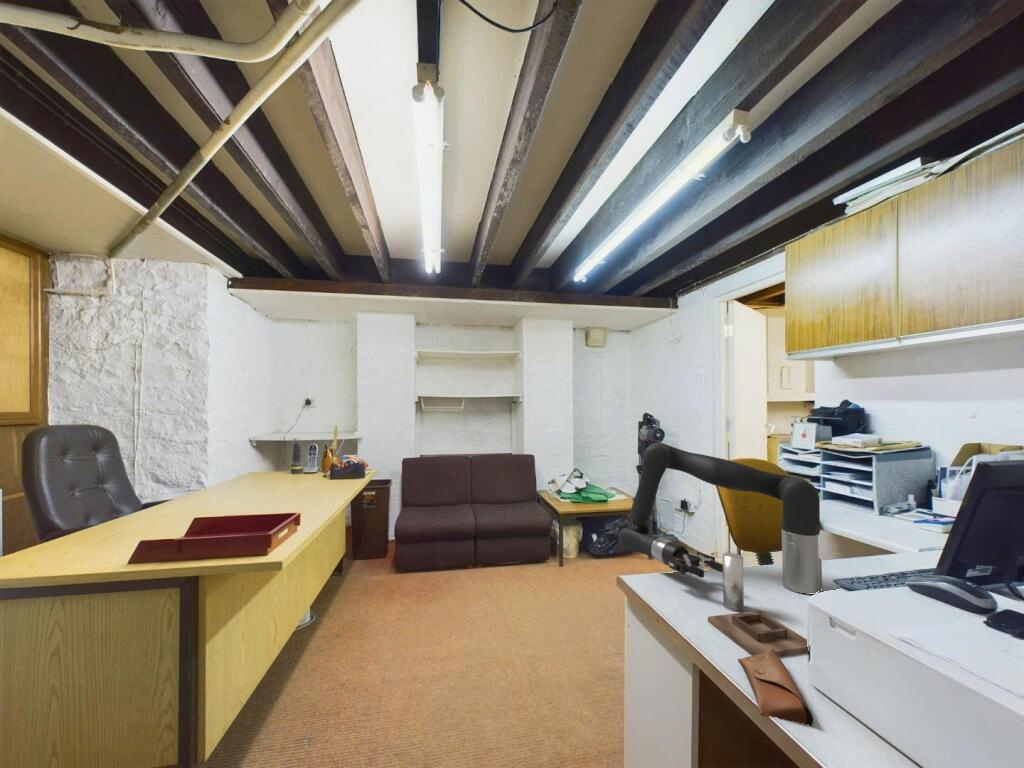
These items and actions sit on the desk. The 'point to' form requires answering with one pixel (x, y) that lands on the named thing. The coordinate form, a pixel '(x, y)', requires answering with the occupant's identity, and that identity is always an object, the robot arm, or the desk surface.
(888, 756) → the desk surface
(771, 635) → the lamp base
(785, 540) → the robot arm
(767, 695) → the sunglasses case
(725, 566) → the column
